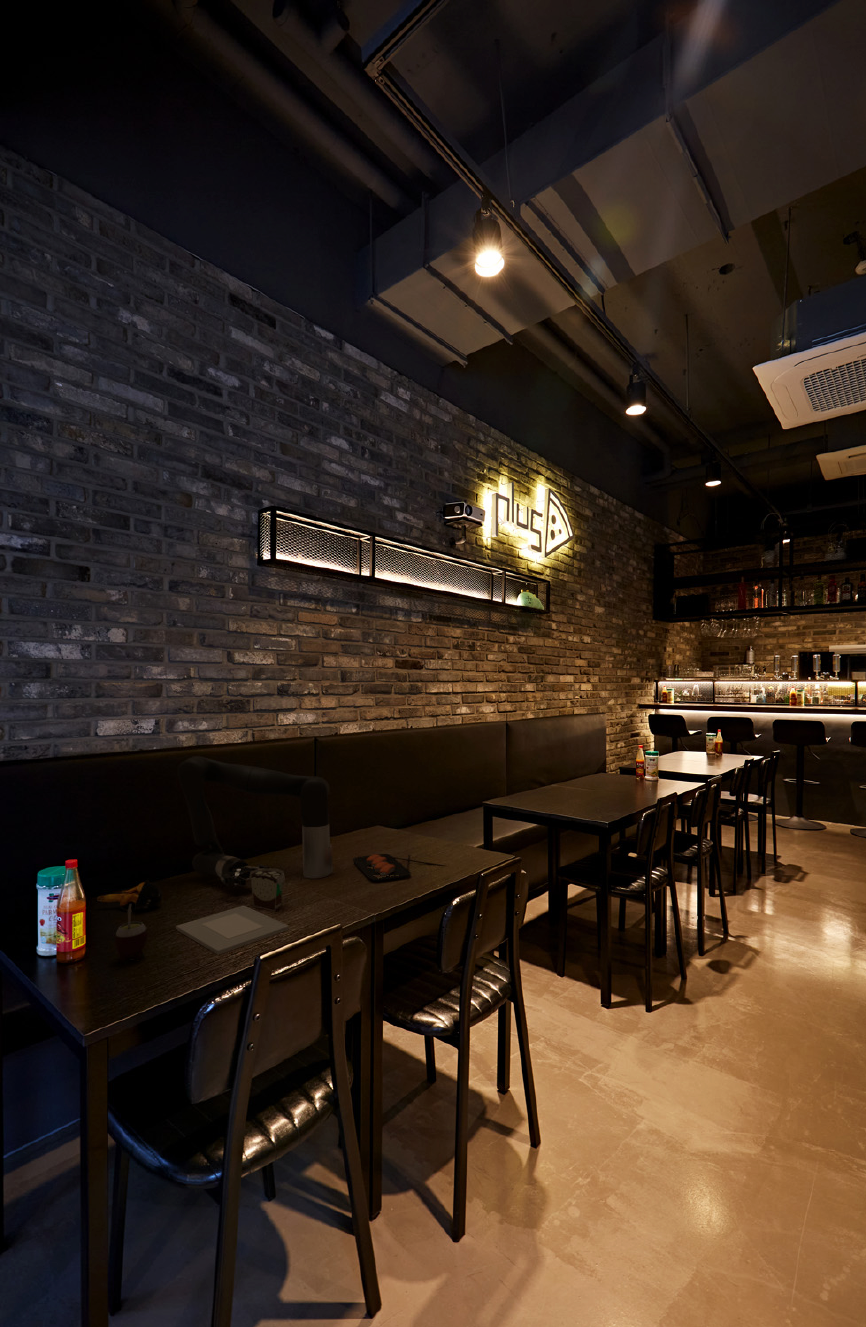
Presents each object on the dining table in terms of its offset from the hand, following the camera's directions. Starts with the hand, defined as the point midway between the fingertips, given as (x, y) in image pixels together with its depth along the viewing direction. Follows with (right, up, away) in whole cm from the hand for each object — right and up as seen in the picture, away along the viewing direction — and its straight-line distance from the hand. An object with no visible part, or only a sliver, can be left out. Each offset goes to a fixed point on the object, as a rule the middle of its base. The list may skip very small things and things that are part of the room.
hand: (257, 879), depth 188 cm
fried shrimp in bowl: (-36, -7, -5) cm, 37 cm away
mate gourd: (-19, -5, -40) cm, 45 cm away
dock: (0, -5, -24) cm, 24 cm away
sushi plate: (+43, -7, +30) cm, 52 cm away
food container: (+6, -6, -6) cm, 10 cm away
